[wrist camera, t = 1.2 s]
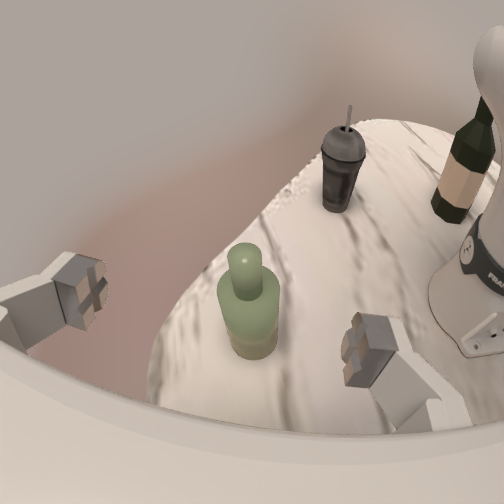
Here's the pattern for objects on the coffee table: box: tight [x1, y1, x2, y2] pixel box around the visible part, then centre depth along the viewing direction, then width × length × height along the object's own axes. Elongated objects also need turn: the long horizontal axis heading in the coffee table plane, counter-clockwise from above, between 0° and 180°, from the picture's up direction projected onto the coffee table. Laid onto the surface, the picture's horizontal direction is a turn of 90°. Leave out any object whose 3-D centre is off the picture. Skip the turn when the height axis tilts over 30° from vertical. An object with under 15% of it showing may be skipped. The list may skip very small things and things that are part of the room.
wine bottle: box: [431, 96, 496, 224], centre depth 40 cm, size 8×8×30 cm
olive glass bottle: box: [217, 243, 280, 360], centre depth 32 cm, size 6×6×17 cm
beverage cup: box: [321, 105, 366, 213], centre depth 46 cm, size 7×7×20 cm
